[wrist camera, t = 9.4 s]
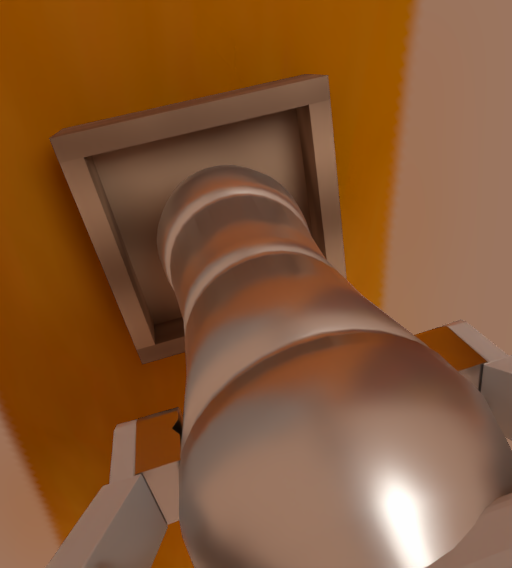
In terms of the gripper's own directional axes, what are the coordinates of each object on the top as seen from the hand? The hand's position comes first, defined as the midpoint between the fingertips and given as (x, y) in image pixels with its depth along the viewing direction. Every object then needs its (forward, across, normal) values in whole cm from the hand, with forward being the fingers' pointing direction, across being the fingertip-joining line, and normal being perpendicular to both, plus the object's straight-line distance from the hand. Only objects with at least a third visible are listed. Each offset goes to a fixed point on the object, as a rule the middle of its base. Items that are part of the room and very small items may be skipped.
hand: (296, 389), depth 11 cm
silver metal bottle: (+12, 0, 0) cm, 12 cm away
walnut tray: (+14, 0, 0) cm, 15 cm away
